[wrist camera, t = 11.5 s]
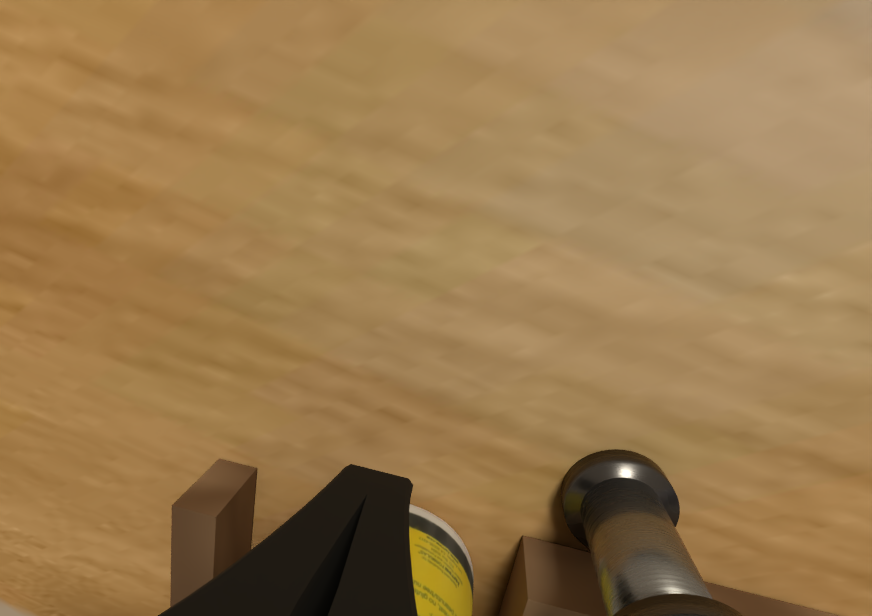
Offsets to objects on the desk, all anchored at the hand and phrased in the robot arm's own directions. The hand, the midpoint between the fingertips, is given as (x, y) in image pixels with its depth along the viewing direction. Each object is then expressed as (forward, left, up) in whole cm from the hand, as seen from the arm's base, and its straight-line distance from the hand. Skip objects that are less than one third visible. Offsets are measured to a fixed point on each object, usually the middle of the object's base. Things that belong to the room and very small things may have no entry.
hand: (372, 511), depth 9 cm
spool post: (-6, 0, -3) cm, 7 cm away
